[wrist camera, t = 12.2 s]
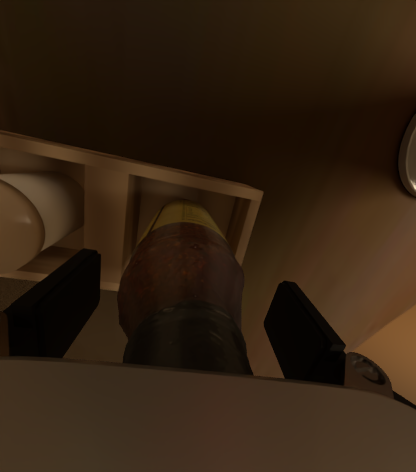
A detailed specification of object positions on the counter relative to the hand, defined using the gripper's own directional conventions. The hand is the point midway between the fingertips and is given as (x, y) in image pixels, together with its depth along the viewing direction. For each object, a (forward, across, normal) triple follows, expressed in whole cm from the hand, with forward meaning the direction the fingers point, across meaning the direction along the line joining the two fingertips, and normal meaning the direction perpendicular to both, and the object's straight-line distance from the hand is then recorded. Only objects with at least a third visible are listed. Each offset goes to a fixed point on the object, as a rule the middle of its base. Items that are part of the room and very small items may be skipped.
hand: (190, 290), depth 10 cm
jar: (+11, +13, 0) cm, 18 cm away
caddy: (+12, +7, 0) cm, 14 cm away
